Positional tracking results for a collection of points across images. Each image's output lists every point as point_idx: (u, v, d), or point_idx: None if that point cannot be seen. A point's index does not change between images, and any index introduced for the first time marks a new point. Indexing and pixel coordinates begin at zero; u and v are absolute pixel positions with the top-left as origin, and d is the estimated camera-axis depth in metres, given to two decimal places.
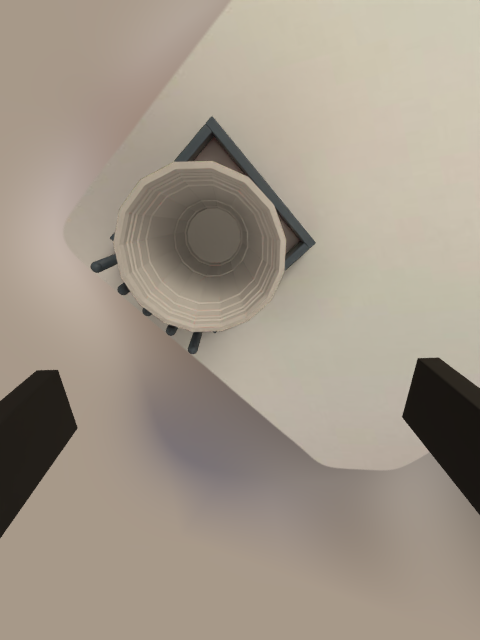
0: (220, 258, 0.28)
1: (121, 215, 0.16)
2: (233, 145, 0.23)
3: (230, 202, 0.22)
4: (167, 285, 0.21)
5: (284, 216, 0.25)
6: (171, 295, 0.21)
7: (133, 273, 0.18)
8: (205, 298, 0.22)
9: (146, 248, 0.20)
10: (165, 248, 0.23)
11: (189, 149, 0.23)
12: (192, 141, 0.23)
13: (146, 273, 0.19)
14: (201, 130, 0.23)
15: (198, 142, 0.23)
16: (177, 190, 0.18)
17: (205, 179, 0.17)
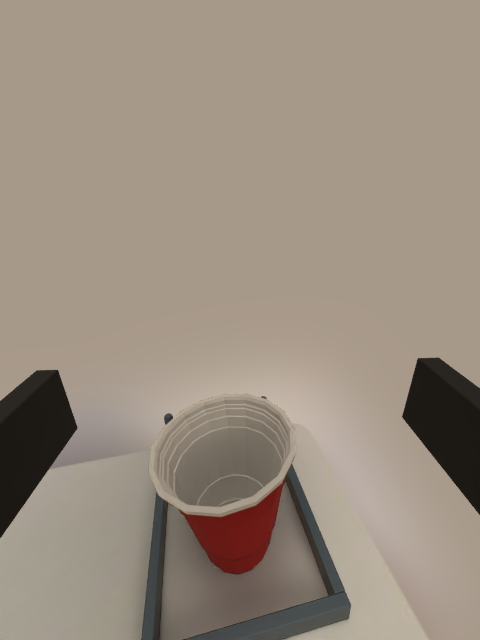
0: None
1: (280, 410, 0.22)
2: (312, 613, 0.18)
3: None
4: (223, 429, 0.25)
5: (202, 636, 0.18)
6: (215, 424, 0.25)
7: (244, 403, 0.25)
8: (193, 450, 0.24)
9: (255, 429, 0.24)
10: (250, 457, 0.25)
11: (325, 553, 0.21)
12: (331, 562, 0.21)
13: (240, 415, 0.25)
14: (339, 580, 0.20)
15: (328, 569, 0.20)
16: None
17: None
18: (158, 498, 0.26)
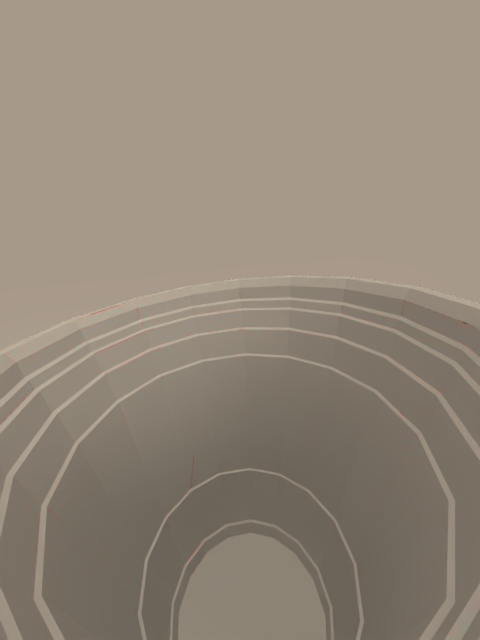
0: (197, 586, 0.11)
1: (404, 285, 0.07)
2: None
3: None
4: (232, 359, 0.11)
5: None
6: (214, 345, 0.10)
7: (287, 295, 0.10)
8: (155, 399, 0.10)
9: (313, 360, 0.10)
10: (292, 430, 0.11)
11: None
12: None
13: (274, 327, 0.10)
14: None
15: None
16: (436, 461, 0.06)
17: None
18: None
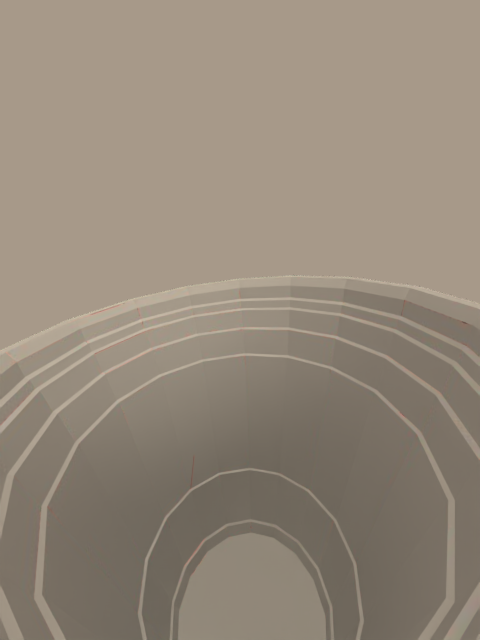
0: (197, 585, 0.11)
1: (404, 285, 0.07)
2: None
3: None
4: (232, 359, 0.11)
5: None
6: (214, 345, 0.10)
7: (287, 295, 0.10)
8: (155, 399, 0.10)
9: (313, 359, 0.10)
10: (291, 430, 0.11)
11: None
12: None
13: (274, 327, 0.10)
14: None
15: None
16: (436, 461, 0.06)
17: None
18: None
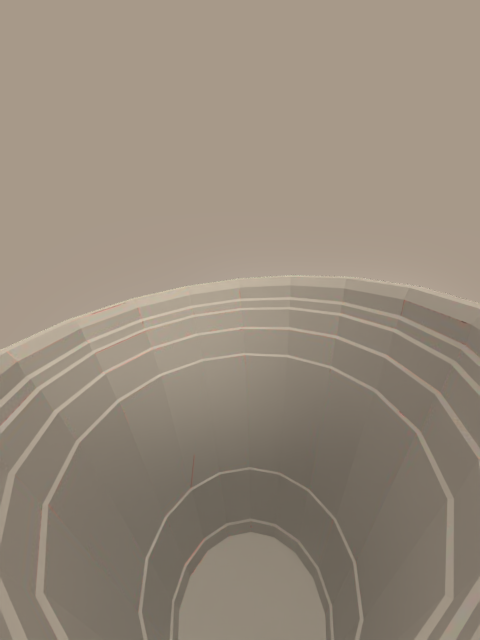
0: (197, 585, 0.11)
1: (404, 285, 0.07)
2: None
3: None
4: (232, 358, 0.11)
5: None
6: (214, 345, 0.10)
7: (287, 295, 0.10)
8: (155, 398, 0.10)
9: (313, 359, 0.10)
10: (291, 430, 0.11)
11: None
12: None
13: (274, 327, 0.10)
14: None
15: None
16: (435, 460, 0.06)
17: None
18: None
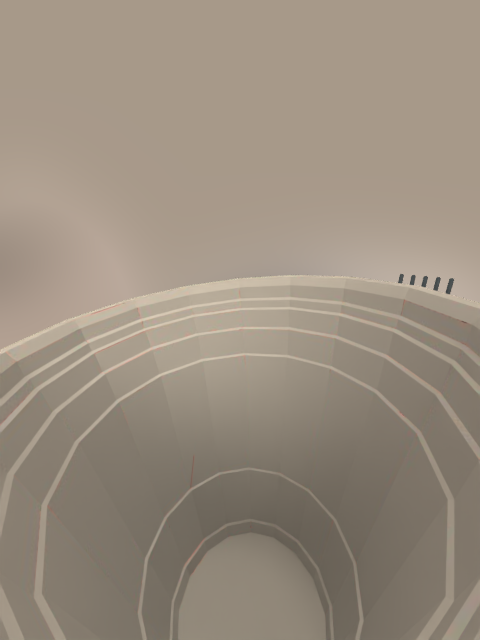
0: (197, 585, 0.11)
1: (404, 285, 0.07)
2: None
3: None
4: (232, 358, 0.11)
5: None
6: (214, 345, 0.10)
7: (287, 295, 0.10)
8: (155, 398, 0.10)
9: (313, 359, 0.10)
10: (291, 430, 0.11)
11: None
12: None
13: (274, 327, 0.10)
14: None
15: None
16: (435, 460, 0.06)
17: None
18: None
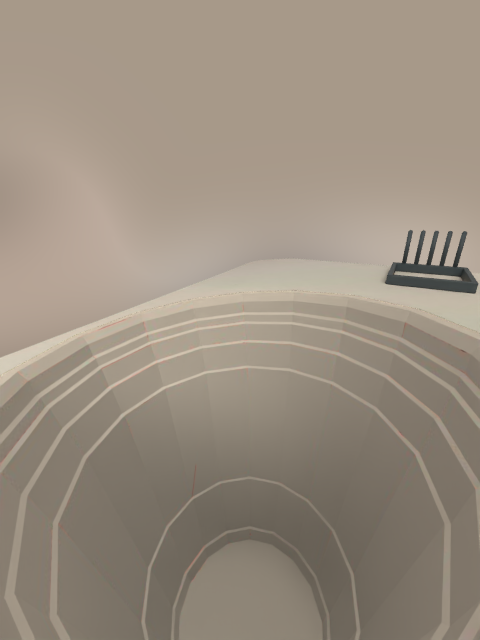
0: (197, 592, 0.11)
1: (405, 307, 0.08)
2: (458, 281, 0.48)
3: None
4: (234, 371, 0.11)
5: (410, 276, 0.52)
6: (217, 357, 0.11)
7: (289, 310, 0.10)
8: (159, 411, 0.10)
9: (314, 374, 0.10)
10: (292, 441, 0.11)
11: (473, 279, 0.50)
12: (475, 280, 0.49)
13: (276, 341, 0.10)
14: (476, 281, 0.48)
15: (472, 280, 0.49)
16: (433, 483, 0.06)
17: None
18: (393, 265, 0.62)
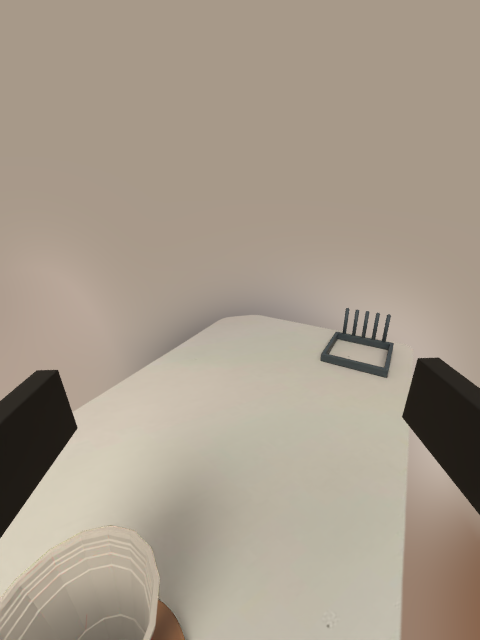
0: None
1: (155, 575, 0.18)
2: (374, 366, 0.58)
3: None
4: (105, 567, 0.21)
5: (339, 357, 0.62)
6: (95, 562, 0.21)
7: (128, 543, 0.20)
8: (61, 597, 0.20)
9: (139, 578, 0.20)
10: (136, 603, 0.21)
11: (387, 363, 0.60)
12: (388, 364, 0.59)
13: (124, 556, 0.21)
14: (388, 367, 0.58)
15: (386, 365, 0.59)
16: None
17: None
18: (334, 336, 0.72)
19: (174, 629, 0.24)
